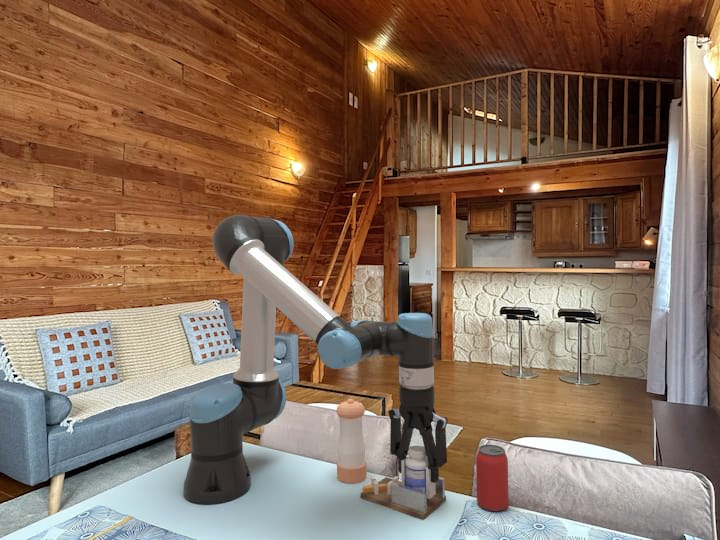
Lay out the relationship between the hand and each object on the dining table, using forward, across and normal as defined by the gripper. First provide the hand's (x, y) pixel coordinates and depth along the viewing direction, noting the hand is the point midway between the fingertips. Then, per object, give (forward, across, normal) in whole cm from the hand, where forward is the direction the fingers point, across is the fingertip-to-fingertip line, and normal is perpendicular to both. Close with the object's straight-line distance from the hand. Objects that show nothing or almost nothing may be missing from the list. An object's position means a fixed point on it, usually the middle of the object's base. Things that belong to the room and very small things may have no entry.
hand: (418, 491), depth 103 cm
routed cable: (+2, -9, -1) cm, 9 cm away
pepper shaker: (+3, -20, +2) cm, 21 cm away
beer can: (+3, +13, +9) cm, 16 cm away
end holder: (+3, 0, 0) cm, 3 cm away
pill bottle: (+1, 0, 0) cm, 1 cm away
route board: (+3, -4, 0) cm, 5 cm away
